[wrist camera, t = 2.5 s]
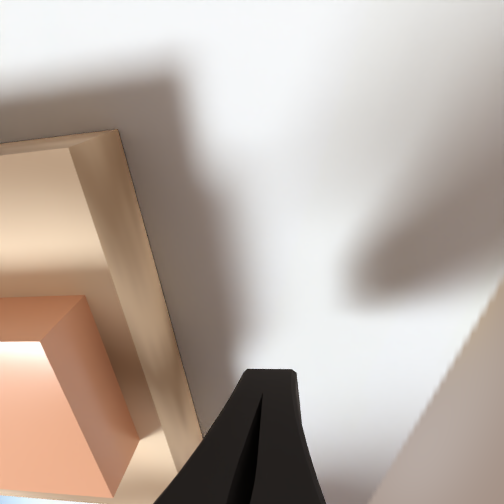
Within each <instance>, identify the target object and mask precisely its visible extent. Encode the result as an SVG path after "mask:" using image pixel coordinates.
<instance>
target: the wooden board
mask: <svg viewBox="0 0 504 504" xmlns="http://www.w3.org/2000/svg"><path fill="white" fill-rule="evenodd" d="M67 295H85V296H86V299H87V302H88V304H89V307H90V310H91V312H92V315H93V318H94V320H95V323H96V325H97V328H98V331H99V333H100V336H101V339H102V341H103V344H104V347H105V349H106V352H107V354H108V357H109V360H110V362H111V365H112V368H113V370H114V373H115V376H116V378H117V381H118V383H119V386H120V389H121V391H122V394H123V397H124V399H125V402H126V405H127V407H128V410H129V412H130V415H131V418H132V420H133V423H134V426H135V428H136V431H137V433H138V436H139V439H140V441H139V443H138V446H137V448H136V450H135V452H134V454H133V456H132V459H131V461H130V463H129V465H128V467H127V469H126V471H125V474H124V476H123V478H122V480H121V482H120V484H119V487H118V489H117V491H116V493H115V495H114V497H113V498H104V497H92V496H79V495H67V494H55V493H42V492H30V491H18V490H6V489H0V495H5V496H17V497H28V498H40V499H52V500H64V501H76V502H87V503H99V504H153V503H154V502H155V501H156V499H157V498H158V497H159V496H160V495H161V493H162V492H163V491H164V490H165V489H166V488H167V486H168V485H169V484H170V483H171V481H172V480H173V479H174V478H175V476H176V475H177V474H178V473H179V471H180V470H181V469H182V467H183V466H184V465H185V463H186V462H187V461H188V459H189V458H190V456H191V455H192V454H193V452H194V451H195V450H196V448H197V447H198V445H199V444H200V443H201V441H202V440H203V437H202V434H201V430H200V426H199V423H198V419H197V416H196V412H195V408H194V405H193V401H192V397H191V394H190V390H189V386H188V383H187V379H186V375H185V372H184V368H183V365H182V361H181V357H180V354H179V350H178V346H177V343H176V339H175V335H174V332H173V328H172V324H171V321H170V317H169V314H168V310H167V306H166V303H165V299H164V295H163V292H162V288H161V284H160V281H159V277H158V274H157V270H156V266H155V263H154V259H153V255H152V252H151V248H150V244H149V241H148V237H147V233H146V230H145V226H144V223H143V219H142V215H141V212H140V208H139V204H138V201H137V197H136V193H135V190H134V186H133V182H132V179H131V175H130V172H129V168H128V164H127V161H126V157H125V153H124V150H123V146H122V142H121V139H120V135H119V131H118V129H114V130H106V131H98V132H90V133H82V134H74V135H66V136H57V137H49V138H41V139H33V140H25V141H17V142H9V143H0V298H5V297H36V296H67Z"/></svg>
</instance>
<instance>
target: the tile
mask: <svg viewBox="0 0 504 504" xmlns="http://www.w3.org/2000/svg"><path fill="white" fill-rule="evenodd" d="M139 441H140V439H139V436H138V433H137V431H136V428H135V426H134V423H133V420H132V418H131V415H130V412H129V410H128V407H127V405H126V402H125V399H124V397H123V394H122V391H121V389H120V386H119V383H118V381H117V378H116V376H115V373H114V370H113V368H112V365H111V362H110V360H109V357H108V354H107V352H106V349H105V347H104V344H103V341H102V339H101V336H100V333H99V331H98V328H97V325H96V323H95V320H94V318H93V315H92V312H91V310H90V307H89V304H88V302H87V299H86V296H85V295H67V296H36V297H5V298H0V489H6V490H18V491H30V492H42V493H55V494H67V495H79V496H92V497H104V498H113V497H114V495H115V493H116V491H117V489H118V487H119V484H120V482H121V480H122V478H123V476H124V474H125V471H126V469H127V467H128V465H129V463H130V461H131V459H132V456H133V454H134V452H135V450H136V448H137V446H138V443H139Z"/></svg>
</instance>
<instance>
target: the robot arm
mask: <svg viewBox="0 0 504 504" xmlns="http://www.w3.org/2000/svg"><path fill="white" fill-rule="evenodd" d="M153 504H326V502H325V499H324V496H323V494H322V491H321V488H320V485H319V482H318V479H317V476H316V473H315V470H314V467H313V464H312V460H311V457H310V454H309V450H308V447H307V443H306V439H305V435H304V431H303V427H302V420H301V411H300V402H299V392H298V383H297V373H296V372H295V371H293V370H292V369H247V370H246V371H244V373H243V375H242V376H241V378H240V380H239V382H238V384H237V386H236V387H235V389H234V391H233V393H232V394H231V396H230V398H229V400H228V401H227V403H226V404H225V406H224V408H223V409H222V411H221V413H220V414H219V416H218V417H217V419H216V420H215V422H214V423H213V425H212V426H211V428H210V429H209V431H208V433H207V434H206V436H205V437H204V438H203V440H202V441H201V443H200V444H199V445H198V447H197V448H196V450H195V451H194V452H193V454H192V455H191V456H190V458H189V459H188V461H187V462H186V463H185V465H184V466H183V467H182V469H181V470H180V471H179V473H178V474H177V475H176V476H175V478H174V479H173V480H172V481H171V483H170V484H169V485H168V486H167V488H166V489H165V490H164V491H163V492H162V493H161V495H160V496H159V497H158V498H157V499H156V501H155V502H154V503H153Z"/></svg>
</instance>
